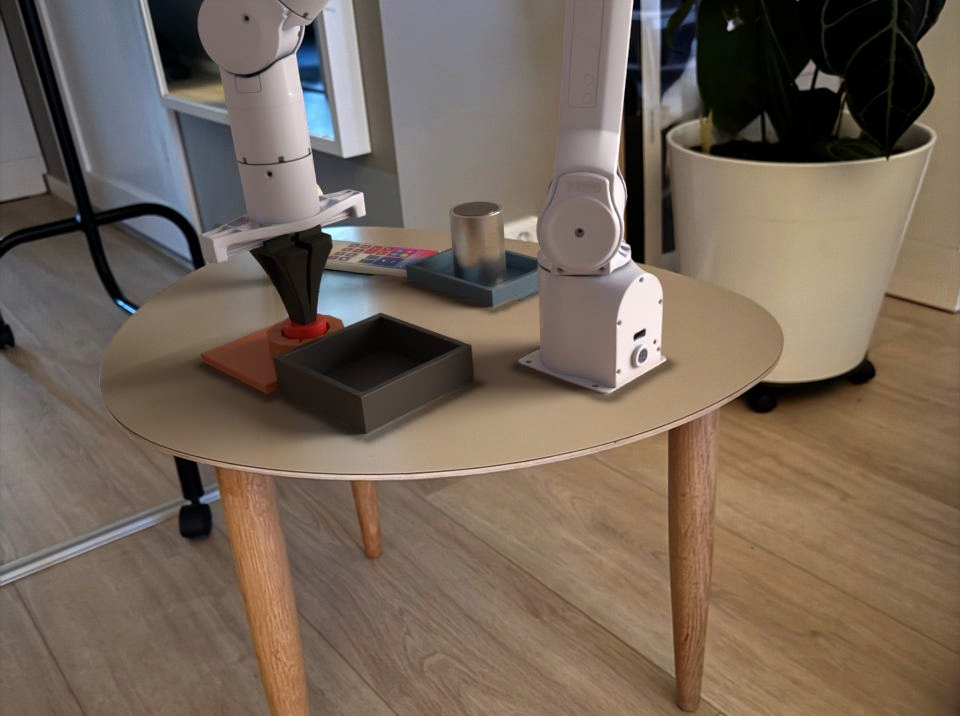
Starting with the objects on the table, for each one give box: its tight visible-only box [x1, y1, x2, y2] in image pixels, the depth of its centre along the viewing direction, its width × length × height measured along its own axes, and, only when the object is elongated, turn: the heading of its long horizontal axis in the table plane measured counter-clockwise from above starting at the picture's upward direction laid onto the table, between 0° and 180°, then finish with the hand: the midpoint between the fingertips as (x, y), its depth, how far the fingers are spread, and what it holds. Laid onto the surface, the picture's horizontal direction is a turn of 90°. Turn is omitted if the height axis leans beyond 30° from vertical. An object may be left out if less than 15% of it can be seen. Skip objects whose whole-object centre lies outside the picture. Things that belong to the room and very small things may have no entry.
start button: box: [282, 312, 327, 340], centre depth 80 cm, size 4×4×2 cm
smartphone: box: [324, 239, 441, 278], centre depth 102 cm, size 7×1×15 cm
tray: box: [406, 247, 538, 308], centre depth 94 cm, size 12×9×2 cm
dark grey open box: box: [273, 312, 475, 435], centre depth 75 cm, size 11×11×4 cm
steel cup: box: [448, 200, 506, 287], centre depth 93 cm, size 5×5×7 cm
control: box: [200, 314, 345, 395], centre depth 81 cm, size 10×10×3 cm
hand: (303, 320), depth 80 cm, fingers closed, pressing on start button
